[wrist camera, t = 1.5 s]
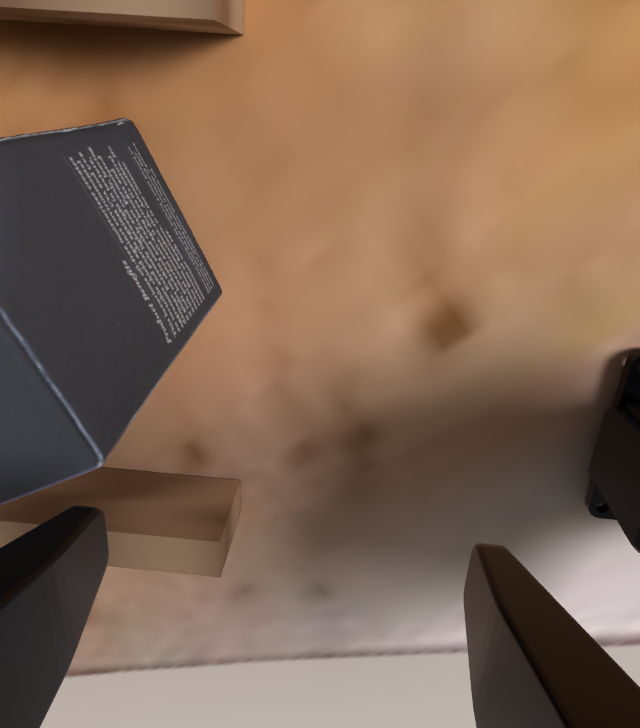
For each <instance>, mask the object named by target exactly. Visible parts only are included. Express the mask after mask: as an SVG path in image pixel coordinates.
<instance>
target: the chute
mask: <svg viewBox="0 0 640 728" xmlns="http://www.w3.org/2000/svg"><path fill="white" fill-rule="evenodd" d="M0 20H10V21H27V22H43V23H59V24H75V25H91V26H108V27H124V28H140V29H156V30H173V31H189V32H205V33H221V34H237V35H244V0H0ZM240 489H241V480H230V479H220V478H209V477H198V476H188V475H177V474H166V473H156V472H145V471H134V470H123V469H113V468H102V467H100V468H98V469H95V470H93V471H90V472H87V473H85V474H82V475H80V476H77V477H74V478H72V479H69V480H66V481H63V482H60V483H58V484H55V485H53V486H50V487H48V488H45V489H43V490H40V491H37V492H35V493H32V494H29V495H27V496H24V497H21V498H19V499H16V500H13V501H11V502H8V503H5V504H3V505H0V548H1V547H3V546H4V545H6V544H8V543H9V542H11V541H13V540H15V539H16V538H18V537H20V536H21V535H23V534H25V533H27V532H28V531H30V530H32V529H33V528H35V527H37V526H39V525H40V524H42V523H44V522H46V521H47V520H49V519H51V518H52V517H54V516H56V515H58V514H59V513H61V512H63V511H64V510H66V509H68V508H70V507H72V506H75V505H83V506H93V507H99V508H101V509H102V510H103V512H104V514H105V520H106V529H107V538H108V548H109V558H108V563H107V566H114V567H124V568H134V569H144V570H154V571H164V572H174V573H183V574H193V575H203V576H213V577H221V573H222V570H223V567H224V564H225V560H226V557H227V554H228V551H229V547H230V544H231V541H232V538H233V534H234V531H235V528H236V525H237V521H238V518H239V515H240Z"/></svg>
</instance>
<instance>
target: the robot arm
mask: <svg viewBox="0 0 640 728" xmlns="http://www.w3.org/2000/svg"><path fill="white" fill-rule="evenodd" d="M639 365H640V349H638V350H636V351H634V352H632V353H631V354H630V355H629V356H628V358H627V360H626V362H625V366H624V369H623V373H622V376H621V379H620V383H619V386H618V390H617V393H616V396H615V400H614V403H613V406H612V407H610V408H609V409H608V410H607V411H606V412H605V415H604V418H603V422H602V425H601V429H600V432H599V435H598V439H597V442H596V446H595V449H594V453H593V456H592V460H591V463H590V467H589V474H590V476H591V477H592V478H591V481H590V485H589V488H588V492H587V495H586V498H585V504H586V506H587V508H588V510H589V512H590V513H591V515H593V516H594V517H597V518H603V519H613V520H617V521H618V523H619V525H620V526H621V528H622V530H623V531H624V533H625V535H626V536H627V538H628V540H629V541H630V543H631V545H632V546H633V547H634V548H635V549H636V551H637V552H638V553H640V370H638V367H639ZM601 501H606V502H605V504H603V505H601V506H596V505H597V504H598V503H599V502H601ZM108 558H109V548H108V538H107V529H106V520H105V514H104V512H103V510H102V509H101V508H99V507H93V506H83V505H75V506H72V507H70V508H68V509H66V510H64V511H63V512H61V513H59V514H58V515H56V516H54V517H52V518H51V519H49V520H47V521H46V522H44V523H42V524H40V525H39V526H37V527H35V528H33V529H32V530H30V531H28V532H27V533H25V534H23V535H21V536H20V537H18V538H16V539H15V540H13V541H11V542H9V543H8V544H6V545H4V546H3V547H1V548H0V728H40V726H41V724H42V722H43V720H44V718H45V716H46V714H47V712H48V710H49V708H50V706H51V704H52V701H53V700H54V697H55V695H56V693H57V691H58V689H59V687H60V685H61V683H62V681H63V679H64V677H65V675H66V673H67V671H68V668H69V666H70V664H71V661H72V659H73V656H74V654H75V651H76V649H77V646H78V643H79V640H80V638H81V635H82V632H83V630H84V627H85V624H86V622H87V619H88V616H89V613H90V611H91V608H92V605H93V603H94V600H95V597H96V594H97V592H98V589H99V586H100V584H101V581H102V578H103V575H104V573H105V570H106V567H107V563H108ZM464 611H465V623H466V634H467V646H468V657H469V668H470V680H471V691H472V700H473V709H474V715H475V721H476V727H477V728H640V687H639V686H638V685H637V684H636V683H635V682H634V681H633V680H632V679H631V678H630V677H629V676H628V675H627V674H626V673H625V671H624V670H622V668H621V667H620V666H619V665H618V664H617V663H616V662H615V661H614V660H613V659H612V658H611V657H610V656H609V655H608V654H607V653H606V652H605V651H604V650H603V649H602V648H601V646H600V645H599V644H598V643H597V642H596V641H595V640H594V639H593V638H592V637H591V636H590V635H589V634H588V633H587V632H586V631H585V630H584V629H583V628H582V627H581V626H580V625H579V624H578V623H577V621H576V620H575V619H574V618H573V617H572V616H571V615H570V614H569V613H568V612H567V611H566V610H565V609H564V608H563V607H562V606H561V605H560V604H559V603H558V602H557V601H556V600H555V599H554V598H553V596H552V595H551V594H550V593H549V592H548V591H547V590H546V589H545V588H544V587H543V586H542V585H541V584H540V583H539V582H538V581H537V580H536V579H535V578H534V577H533V576H532V575H531V574H530V573H529V571H528V570H527V569H526V568H525V567H524V566H523V565H522V564H521V563H520V562H519V561H518V560H517V559H516V558H515V557H514V556H513V555H512V554H511V553H510V552H509V551H508V550H507V549H506V548H505V547H503V546H500V545H491V544H481V543H479V544H476V545H475V546H474V547H473V549H472V553H471V558H470V562H469V567H468V572H467V577H466V582H465V587H464Z"/></svg>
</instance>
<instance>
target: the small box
mask: <svg viewBox="0 0 640 728" xmlns="http://www.w3.org/2000/svg"><path fill="white" fill-rule="evenodd" d="M221 294H222V290H221V288H220V286H219V284H218V282H217V280H216V278H215V276H214V274H213V271H212V270H211V268H210V266H209V264H208V262H207V260H206V258H205V256H204V254H203V252H202V250H201V248H200V247H199V245H198V243H197V241H196V239H195V237H194V235H193V233H192V231H191V229H190V227H189V226H188V224H187V222H186V220H185V218H184V216H183V214H182V212H181V210H180V208H179V207H178V205H177V203H176V201H175V199H174V197H173V196H172V194H171V192H170V190H169V188H168V186H167V184H166V182H165V181H164V179H163V177H162V175H161V173H160V171H159V169H158V167H157V165H156V163H155V161H154V159H153V157H152V156H151V154H150V152H149V150H148V148H147V146H146V144H145V142H144V141H143V139H142V137H141V135H140V133H139V131H138V129H137V128H136V126H135V125H134V123H133V122H132V121H131V120H128V119H126V118H121V119H116V120H113V121H107V122H104V123H97V124H94V125H85V126H81V127H71V128H66V129H60V130H53V131H44V132H38V133H32V134H20V135H16V136H12V137H2V138H0V505H3V504H5V503H8V502H11V501H13V500H16V499H19V498H21V497H24V496H27V495H29V494H32V493H35V492H37V491H40V490H43V489H45V488H48V487H50V486H53V485H55V484H58V483H60V482H63V481H66V480H69V479H72V478H74V477H77V476H80V475H82V474H85V473H87V472H90V471H93V470H95V469H98V468H100V467H101V466H102V465H103V464H104V462H105V460H106V458H107V456H108V455H109V453H110V452H111V451H112V449H113V448H114V447H115V445H116V444H117V442H118V441H119V439H120V438H121V436H122V435H123V433H124V432H125V431H126V429H127V428H128V426H129V425H130V423H131V422H132V421H133V419H134V418H135V416H136V415H137V413H138V412H139V411H140V409H141V408H142V406H143V405H144V403H145V402H146V400H147V399H148V397H149V396H150V394H151V393H152V392H153V390H154V389H155V387H156V386H157V385H158V383H159V382H160V380H161V379H162V377H163V376H164V375H165V373H166V372H167V370H168V369H169V367H170V366H171V365H172V363H173V362H174V360H175V359H176V357H177V356H178V354H179V353H180V352H181V350H182V349H183V348H184V346H185V345H186V343H187V342H188V340H189V339H190V338H191V336H192V335H193V333H194V332H195V331H196V329H197V328H198V326H199V325H200V324H201V322H202V321H203V319H204V318H205V317H206V315H207V314H208V313H209V311H210V310H211V309H212V307H213V306H214V304H215V303H216V301H217V300H218V298H219V297H220V295H221Z"/></svg>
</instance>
